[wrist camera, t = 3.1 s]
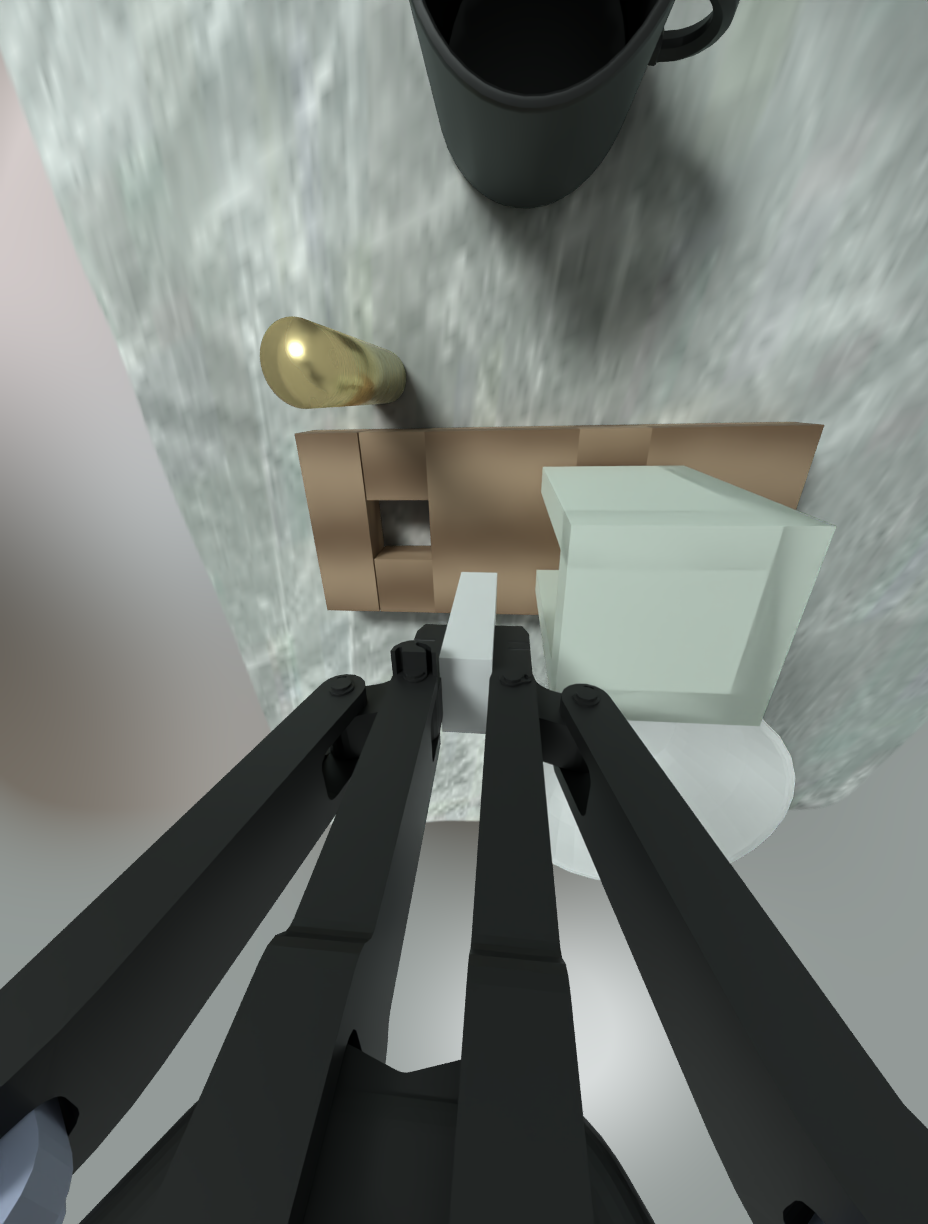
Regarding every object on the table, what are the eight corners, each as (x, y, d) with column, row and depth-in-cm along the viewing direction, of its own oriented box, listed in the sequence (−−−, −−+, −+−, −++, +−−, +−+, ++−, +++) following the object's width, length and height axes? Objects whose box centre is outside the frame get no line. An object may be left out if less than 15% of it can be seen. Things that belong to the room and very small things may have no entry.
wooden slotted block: (314, 430, 28) (198, 451, 18) (791, 421, 26) (992, 440, 15) (341, 593, 34) (265, 683, 23) (737, 600, 31) (857, 707, 20)
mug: (654, 225, 22) (737, 131, 14) (429, 202, 23) (386, 95, 15) (725, -65, 18) (901, -438, 10) (444, -89, 18) (394, -467, 10)
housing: (542, 466, 25) (571, 525, 14) (684, 465, 24) (836, 526, 13) (535, 590, 29) (553, 717, 17) (657, 592, 28) (759, 726, 17)
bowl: (538, 812, 43) (544, 896, 36) (475, 659, 36) (467, 727, 28) (745, 779, 39) (800, 868, 32) (724, 595, 31) (791, 657, 24)
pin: (356, 349, 26) (251, 318, 15) (404, 348, 26) (331, 314, 15) (362, 404, 27) (270, 409, 17) (407, 403, 27) (343, 407, 16)
